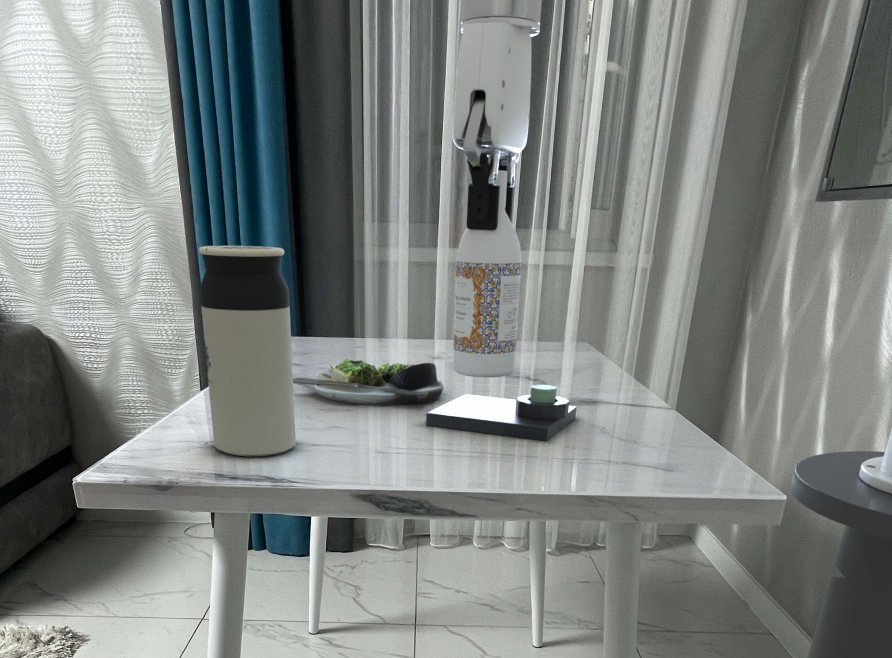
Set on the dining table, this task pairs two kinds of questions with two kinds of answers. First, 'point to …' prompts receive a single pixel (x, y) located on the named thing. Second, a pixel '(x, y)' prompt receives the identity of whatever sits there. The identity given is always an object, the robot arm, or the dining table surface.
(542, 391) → the button
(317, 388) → the salad plate
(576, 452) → the dining table surface
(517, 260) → the bath foam
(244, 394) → the travel mug
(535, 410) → the scale
